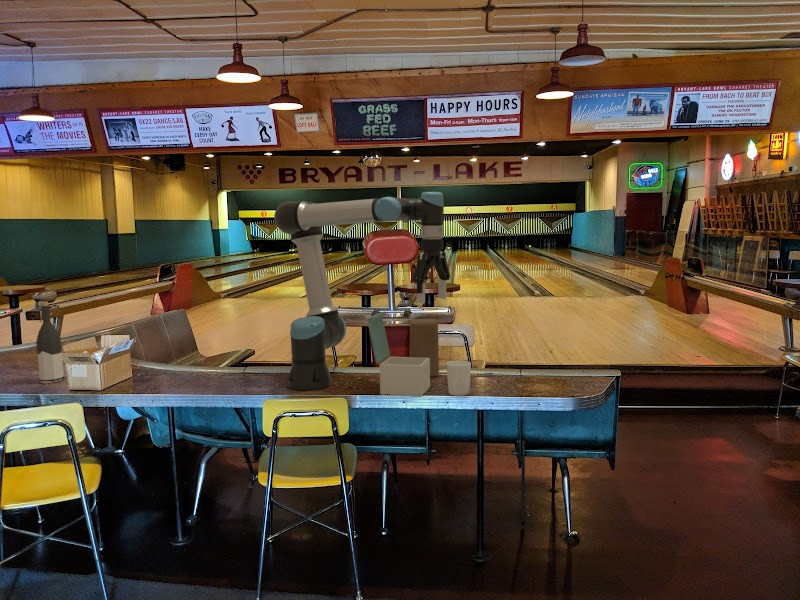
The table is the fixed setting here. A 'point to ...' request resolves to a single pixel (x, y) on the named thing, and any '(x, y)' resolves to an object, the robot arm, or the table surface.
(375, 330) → the lid
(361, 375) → the table surface
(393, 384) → the box
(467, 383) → the white cup
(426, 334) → the block
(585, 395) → the table surface
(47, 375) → the wine bottle
